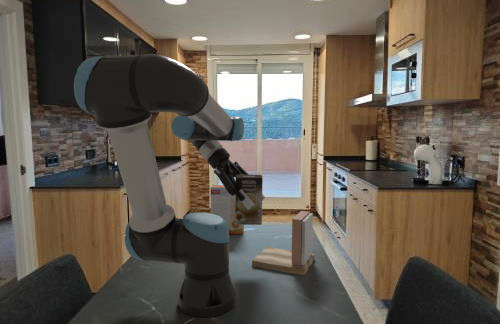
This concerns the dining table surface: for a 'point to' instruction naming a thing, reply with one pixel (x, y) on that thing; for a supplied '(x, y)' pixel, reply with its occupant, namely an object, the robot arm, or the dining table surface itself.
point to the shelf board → (279, 261)
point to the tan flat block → (297, 236)
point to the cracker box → (225, 207)
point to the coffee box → (254, 192)
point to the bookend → (306, 240)
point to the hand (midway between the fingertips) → (257, 203)
